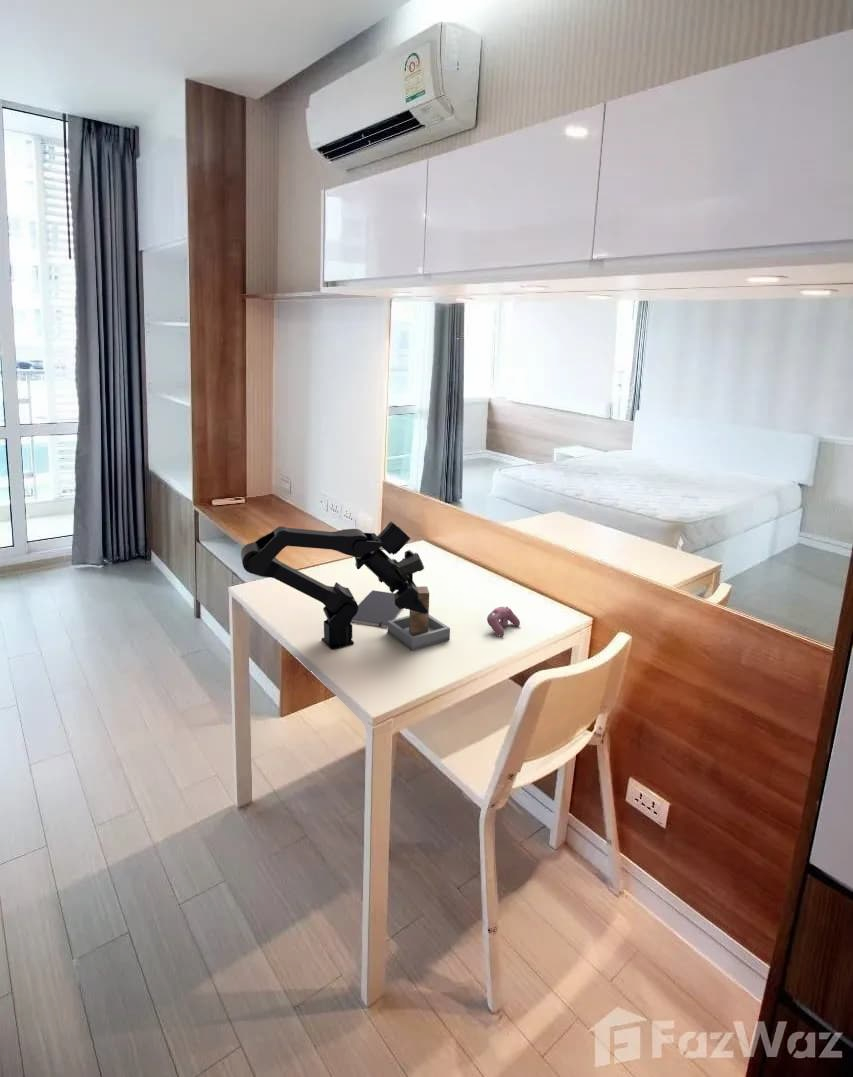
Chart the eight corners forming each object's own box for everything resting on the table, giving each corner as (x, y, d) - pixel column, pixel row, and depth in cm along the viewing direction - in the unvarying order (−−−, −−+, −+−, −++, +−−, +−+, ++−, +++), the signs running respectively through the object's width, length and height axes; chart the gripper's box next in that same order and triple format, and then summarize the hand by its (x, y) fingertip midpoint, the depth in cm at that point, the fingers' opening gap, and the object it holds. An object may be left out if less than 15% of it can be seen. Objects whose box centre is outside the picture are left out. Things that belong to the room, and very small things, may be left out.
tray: (411, 651, 166) (412, 638, 165) (387, 633, 176) (387, 621, 175) (449, 639, 173) (450, 627, 172) (424, 623, 182) (424, 611, 181)
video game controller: (509, 627, 185) (501, 603, 185) (522, 624, 182) (514, 601, 182) (490, 639, 178) (481, 614, 178) (503, 636, 175) (495, 612, 175)
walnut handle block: (410, 637, 172) (412, 593, 168) (409, 629, 176) (410, 586, 172) (427, 636, 172) (429, 593, 168) (425, 629, 176) (427, 586, 173)
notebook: (372, 594, 202) (345, 623, 182) (372, 590, 201) (345, 617, 182) (411, 600, 198) (388, 629, 179) (411, 595, 198) (388, 624, 178)
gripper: (409, 558, 157) (452, 598, 162) (402, 534, 175) (441, 571, 179) (376, 588, 158) (420, 628, 163) (372, 562, 176) (412, 598, 181)
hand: (424, 605), depth 172 cm, fingers open, 9 cm apart
